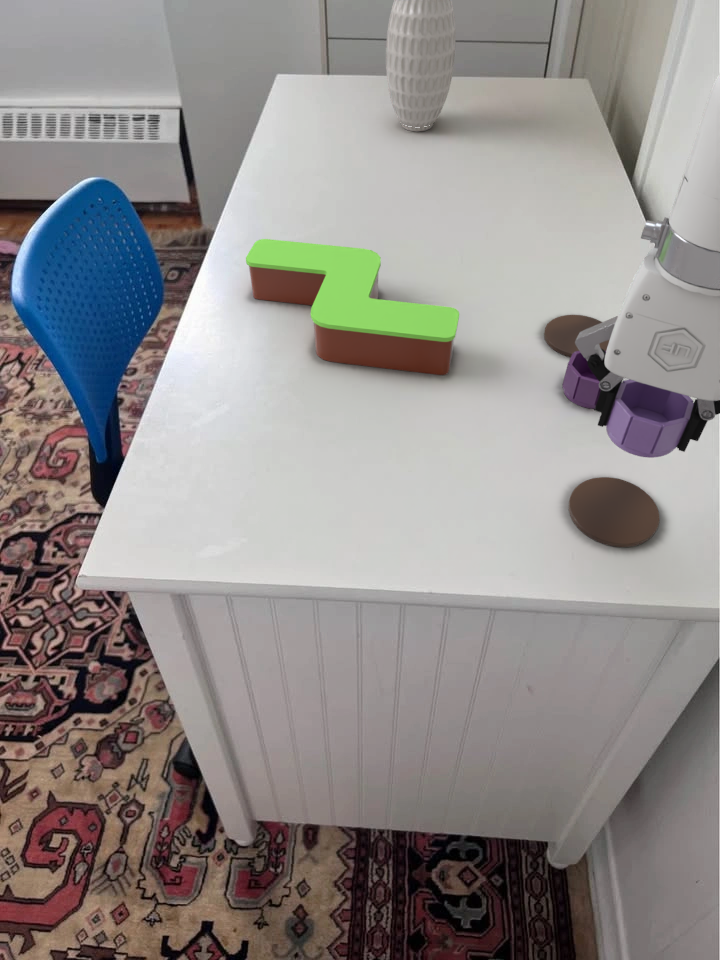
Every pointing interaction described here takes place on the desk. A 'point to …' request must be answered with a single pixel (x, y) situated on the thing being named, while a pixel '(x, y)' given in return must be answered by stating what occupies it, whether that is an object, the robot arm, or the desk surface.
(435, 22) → the vase
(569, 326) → the coaster far
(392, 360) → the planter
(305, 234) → the desk surface
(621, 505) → the coaster near
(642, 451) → the dish lilac
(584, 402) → the dish plum
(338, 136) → the desk surface
